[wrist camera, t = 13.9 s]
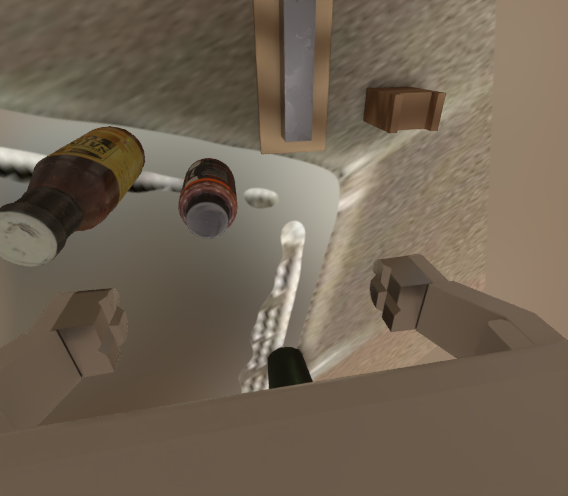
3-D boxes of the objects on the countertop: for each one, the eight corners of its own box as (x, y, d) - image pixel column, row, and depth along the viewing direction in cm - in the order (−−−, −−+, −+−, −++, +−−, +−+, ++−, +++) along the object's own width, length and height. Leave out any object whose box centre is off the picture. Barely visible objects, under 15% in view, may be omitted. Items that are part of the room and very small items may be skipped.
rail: (276, -104, 27) (282, -120, 25) (310, -102, 28) (319, -118, 25) (281, 136, 38) (285, 142, 35) (305, 134, 38) (311, 140, 36)
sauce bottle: (131, 117, 35) (49, 176, 18) (156, 171, 38) (106, 263, 21) (72, 132, 34) (-68, 207, 18) (102, 186, 38) (8, 290, 21)
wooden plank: (246, -138, 26) (246, -141, 26) (338, -132, 28) (340, -134, 27) (261, 153, 39) (261, 154, 39) (324, 149, 40) (325, 150, 40)
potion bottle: (314, 354, 60) (347, 455, 45) (283, 378, 62) (304, 482, 47) (286, 336, 56) (310, 440, 41) (253, 361, 58) (266, 469, 43)
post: (366, 88, 37) (395, 94, 31) (409, 86, 38) (446, 93, 32) (363, 120, 39) (389, 133, 33) (404, 118, 40) (437, 130, 34)
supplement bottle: (180, 160, 38) (166, 195, 28) (230, 153, 38) (233, 186, 29) (191, 205, 41) (183, 252, 31) (238, 199, 42) (243, 242, 32)
